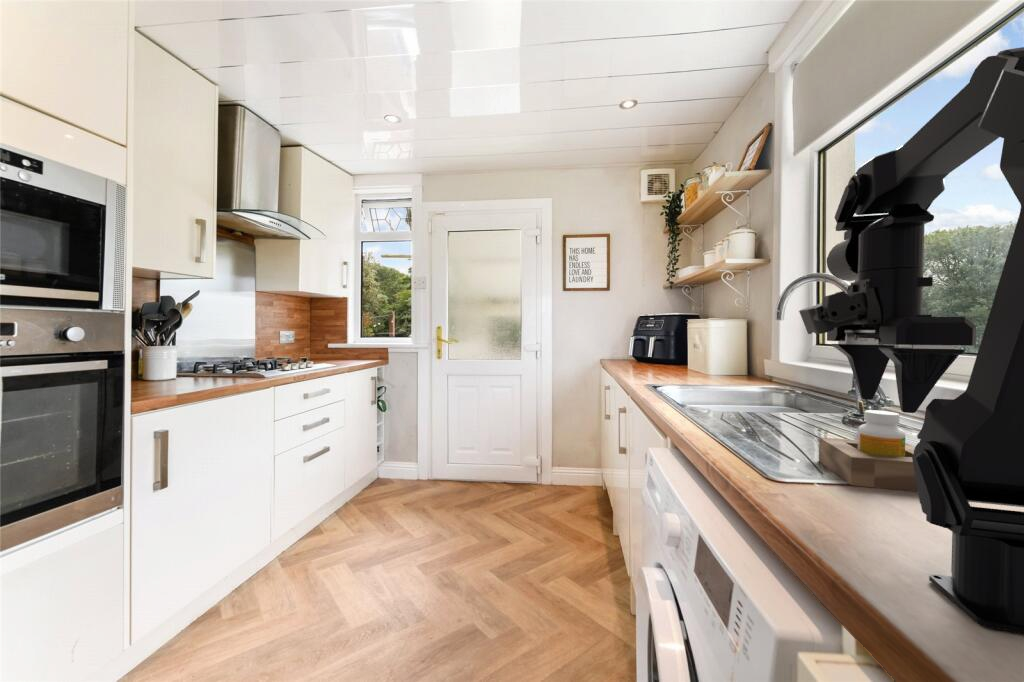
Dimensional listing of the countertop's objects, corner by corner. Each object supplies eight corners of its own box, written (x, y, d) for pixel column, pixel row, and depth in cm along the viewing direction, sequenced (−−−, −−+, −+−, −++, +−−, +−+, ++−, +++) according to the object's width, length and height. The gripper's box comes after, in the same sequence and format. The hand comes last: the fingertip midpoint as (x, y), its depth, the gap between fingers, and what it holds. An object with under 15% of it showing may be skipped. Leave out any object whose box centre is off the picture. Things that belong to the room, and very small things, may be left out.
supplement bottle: (910, 485, 61) (912, 417, 60) (862, 479, 63) (864, 413, 63) (897, 474, 65) (898, 410, 65) (853, 469, 68) (854, 407, 68)
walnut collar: (958, 495, 57) (959, 465, 57) (851, 485, 60) (851, 457, 60) (906, 468, 68) (907, 443, 68) (818, 461, 72) (819, 437, 72)
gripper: (785, 282, 61) (783, 391, 61) (840, 262, 43) (836, 416, 44) (880, 279, 58) (877, 395, 58) (982, 257, 40) (977, 423, 40)
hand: (885, 405), depth 50 cm, fingers open, 9 cm apart
